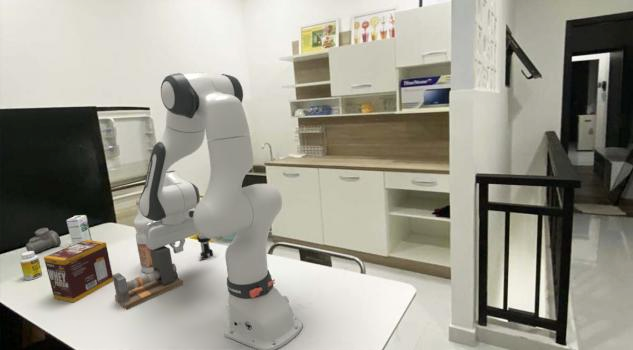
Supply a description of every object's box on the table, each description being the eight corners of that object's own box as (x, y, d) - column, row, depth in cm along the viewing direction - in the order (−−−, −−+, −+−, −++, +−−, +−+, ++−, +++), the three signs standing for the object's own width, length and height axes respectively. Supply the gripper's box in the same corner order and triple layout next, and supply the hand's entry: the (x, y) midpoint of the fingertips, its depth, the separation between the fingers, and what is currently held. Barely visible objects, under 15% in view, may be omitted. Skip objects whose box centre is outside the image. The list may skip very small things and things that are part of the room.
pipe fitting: (54, 242, 172) (48, 224, 169) (63, 246, 168) (57, 227, 165) (26, 255, 162) (19, 235, 159) (35, 259, 159) (28, 239, 155)
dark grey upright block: (175, 280, 123) (169, 248, 121) (163, 285, 120) (158, 252, 118) (166, 274, 128) (160, 243, 125) (155, 279, 125) (149, 247, 123)
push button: (203, 262, 141) (200, 239, 138) (194, 259, 143) (191, 237, 141) (216, 255, 146) (213, 233, 144) (207, 253, 149) (204, 231, 147)
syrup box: (85, 248, 164) (78, 218, 161) (72, 248, 164) (65, 219, 161) (92, 243, 169) (86, 214, 166) (80, 243, 169) (74, 215, 166)
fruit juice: (149, 262, 143) (138, 197, 137) (172, 262, 143) (161, 196, 137) (137, 274, 134) (123, 204, 128) (160, 273, 134) (148, 203, 128)
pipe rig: (183, 284, 124) (179, 259, 122) (126, 309, 111) (121, 282, 109) (170, 276, 131) (166, 252, 129) (115, 299, 117) (110, 273, 115)
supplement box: (53, 298, 120) (42, 256, 117) (95, 277, 134) (86, 239, 131) (73, 303, 117) (63, 260, 113) (114, 280, 130) (106, 241, 127)
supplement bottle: (35, 280, 135) (29, 255, 133) (21, 281, 135) (14, 256, 133) (46, 273, 140) (40, 249, 138) (32, 274, 140) (25, 250, 138)
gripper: (146, 226, 115) (153, 265, 118) (203, 209, 129) (208, 244, 132) (139, 222, 119) (146, 260, 122) (194, 206, 133) (199, 240, 136)
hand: (178, 251), depth 127 cm, fingers closed
